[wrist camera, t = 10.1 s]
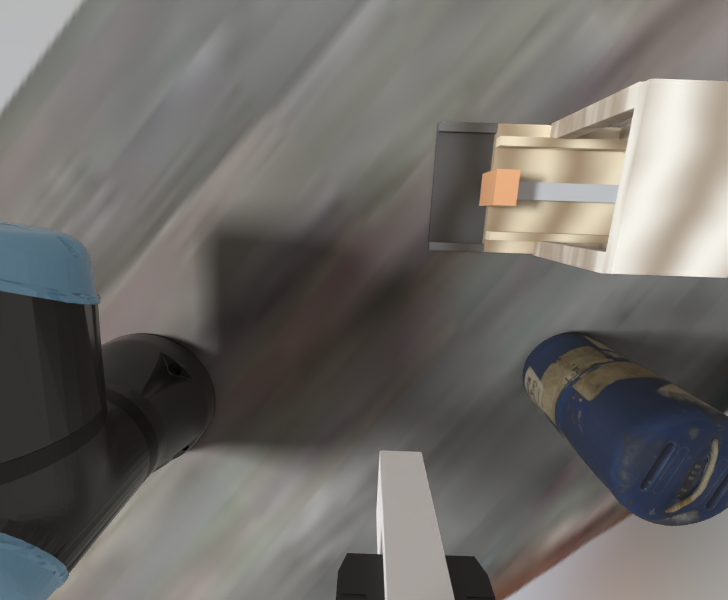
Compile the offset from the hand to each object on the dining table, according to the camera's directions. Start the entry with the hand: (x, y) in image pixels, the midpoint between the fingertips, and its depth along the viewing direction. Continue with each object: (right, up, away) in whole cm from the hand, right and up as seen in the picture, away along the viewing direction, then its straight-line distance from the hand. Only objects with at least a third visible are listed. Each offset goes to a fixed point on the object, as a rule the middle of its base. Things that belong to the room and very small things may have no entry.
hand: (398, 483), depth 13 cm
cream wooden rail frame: (+19, +17, +23) cm, 34 cm away
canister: (+21, -1, +28) cm, 35 cm away
